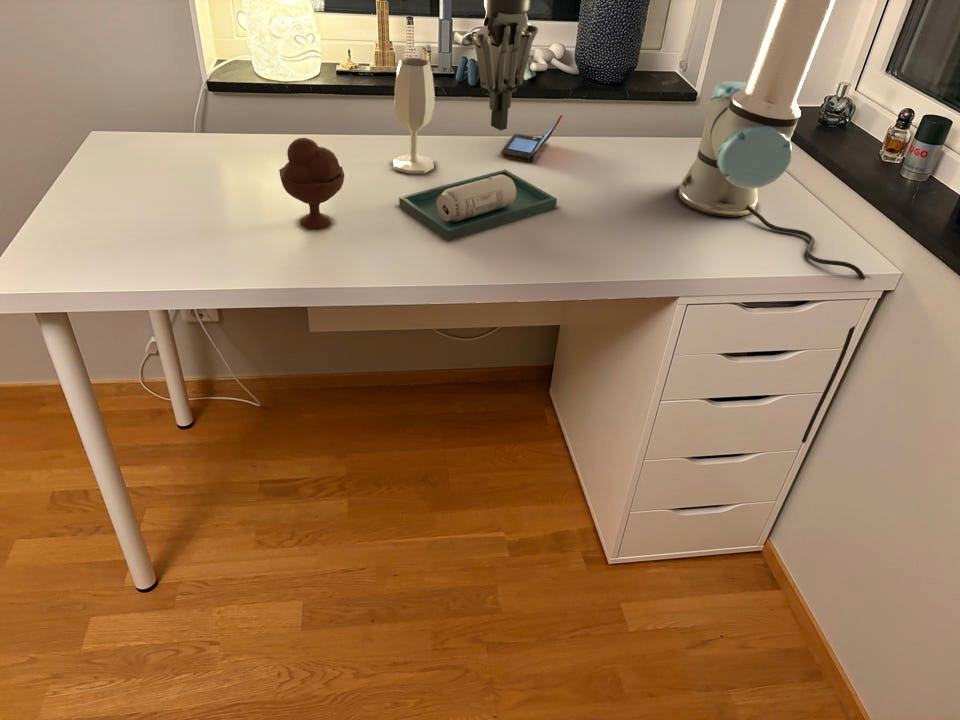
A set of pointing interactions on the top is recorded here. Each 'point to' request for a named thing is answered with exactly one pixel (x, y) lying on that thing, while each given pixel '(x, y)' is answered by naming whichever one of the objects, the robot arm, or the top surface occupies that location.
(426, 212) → the tray
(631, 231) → the top surface
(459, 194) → the energy drink can
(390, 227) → the top surface
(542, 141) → the handheld console
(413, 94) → the wineglass
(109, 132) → the top surface
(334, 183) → the ice cream bowl
